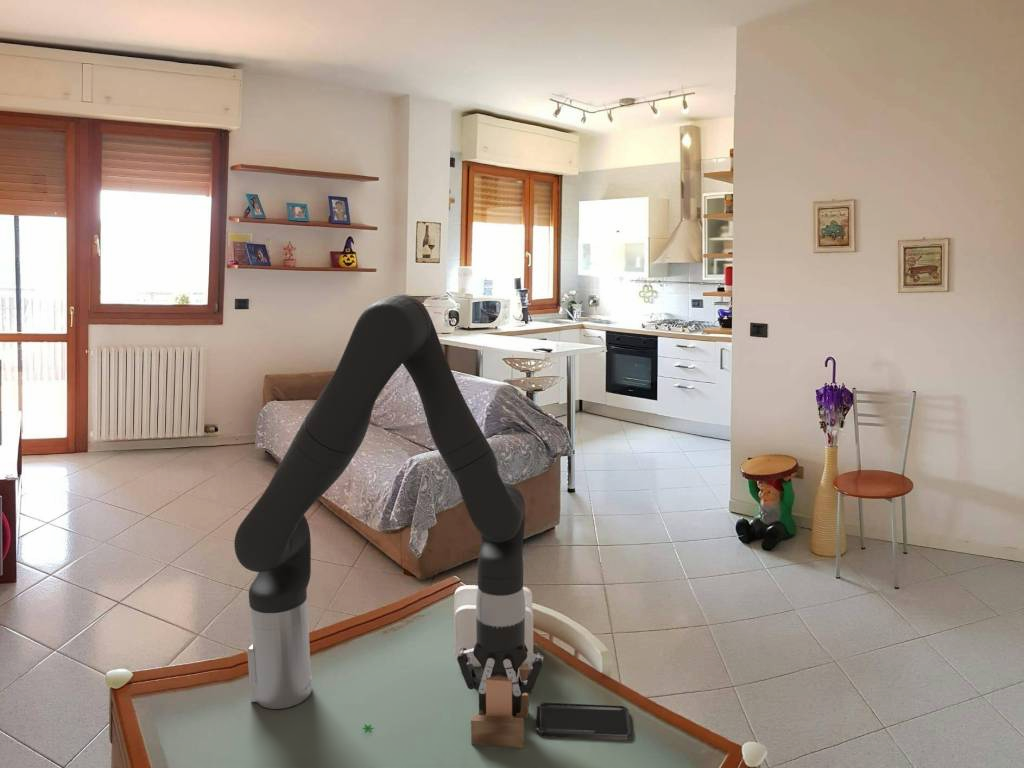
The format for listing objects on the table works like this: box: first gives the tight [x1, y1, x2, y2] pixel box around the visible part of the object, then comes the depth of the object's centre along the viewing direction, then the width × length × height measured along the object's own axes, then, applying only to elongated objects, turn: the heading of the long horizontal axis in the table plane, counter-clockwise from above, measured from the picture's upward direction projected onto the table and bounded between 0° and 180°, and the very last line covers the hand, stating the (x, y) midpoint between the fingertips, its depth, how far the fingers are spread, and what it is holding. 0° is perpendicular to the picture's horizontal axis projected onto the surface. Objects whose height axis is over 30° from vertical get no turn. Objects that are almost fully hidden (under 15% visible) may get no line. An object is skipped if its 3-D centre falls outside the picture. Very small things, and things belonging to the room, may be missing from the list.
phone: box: [535, 702, 632, 741], centre depth 125 cm, size 8×1×15 cm
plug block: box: [485, 674, 515, 718], centre depth 123 cm, size 4×4×8 cm
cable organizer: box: [453, 584, 534, 668], centre depth 145 cm, size 15×11×12 cm
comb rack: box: [470, 664, 530, 748], centre depth 127 cm, size 8×16×4 cm, turn 173°
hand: (500, 711), depth 123 cm, fingers closed on plug block, 4 cm apart
